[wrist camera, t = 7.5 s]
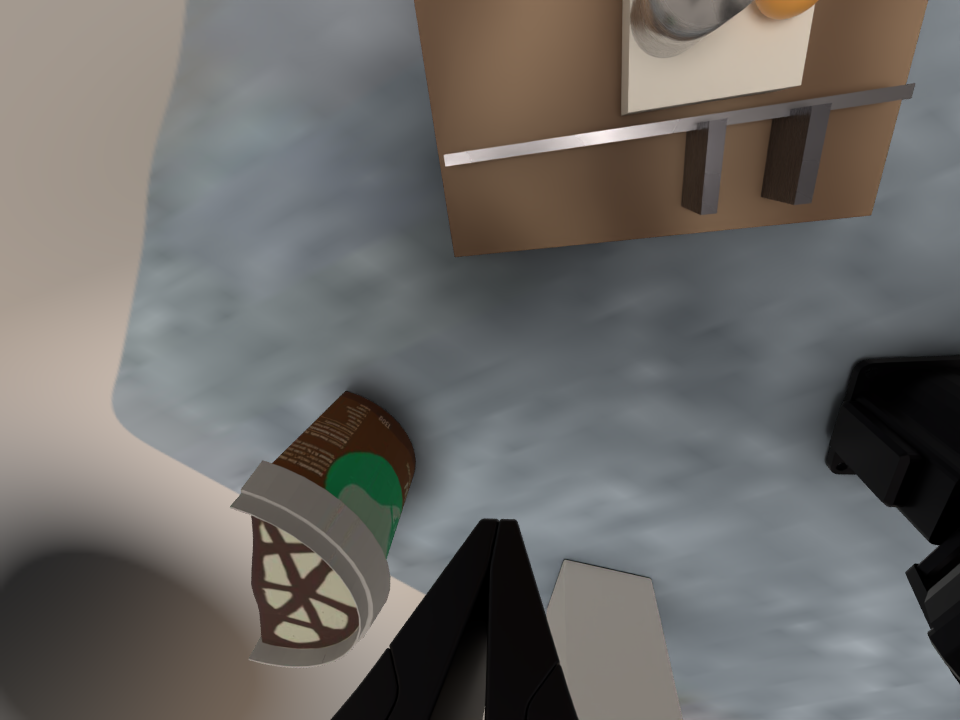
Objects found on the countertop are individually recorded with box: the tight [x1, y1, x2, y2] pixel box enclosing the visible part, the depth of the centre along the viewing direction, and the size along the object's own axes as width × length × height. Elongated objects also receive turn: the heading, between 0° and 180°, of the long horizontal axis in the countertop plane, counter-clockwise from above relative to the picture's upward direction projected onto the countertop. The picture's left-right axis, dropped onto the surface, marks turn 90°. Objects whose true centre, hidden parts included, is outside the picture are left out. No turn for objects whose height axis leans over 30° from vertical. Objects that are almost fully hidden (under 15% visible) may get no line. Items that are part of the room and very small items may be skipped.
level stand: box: [414, 0, 928, 257], centre depth 14 cm, size 16×14×4 cm
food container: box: [230, 391, 416, 668], centre depth 23 cm, size 12×6×10 cm, turn 168°
